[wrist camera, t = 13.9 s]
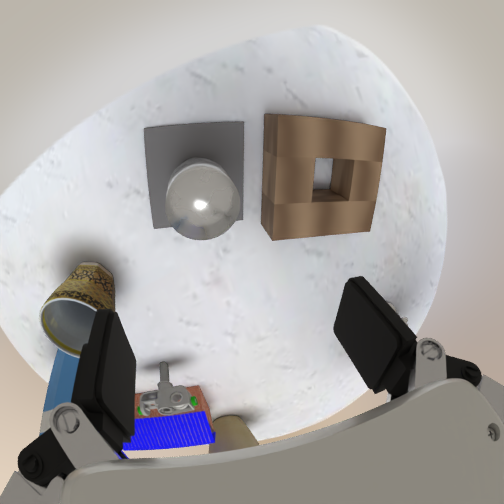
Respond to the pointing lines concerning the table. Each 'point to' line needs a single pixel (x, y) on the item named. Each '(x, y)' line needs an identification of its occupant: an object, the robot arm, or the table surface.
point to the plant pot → (231, 435)
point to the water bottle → (59, 385)
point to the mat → (189, 146)
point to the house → (173, 427)
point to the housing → (302, 175)
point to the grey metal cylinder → (201, 199)
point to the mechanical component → (166, 397)
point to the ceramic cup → (77, 307)
